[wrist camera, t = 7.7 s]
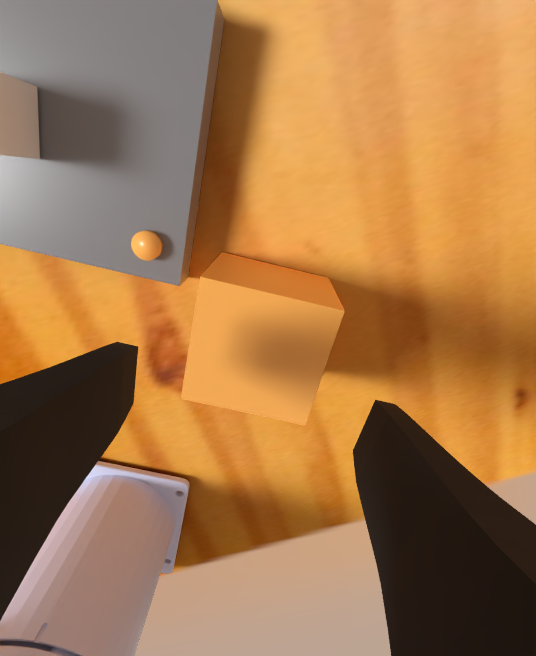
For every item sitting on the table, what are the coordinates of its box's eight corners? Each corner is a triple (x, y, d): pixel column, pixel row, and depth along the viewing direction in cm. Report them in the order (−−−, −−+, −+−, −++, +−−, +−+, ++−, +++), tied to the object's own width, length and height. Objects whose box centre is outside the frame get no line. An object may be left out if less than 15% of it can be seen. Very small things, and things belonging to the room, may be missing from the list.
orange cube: (299, 369, 18) (304, 425, 14) (205, 347, 18) (180, 398, 13) (328, 277, 16) (345, 310, 12) (222, 252, 16) (199, 276, 11)
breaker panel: (188, 277, 16) (176, 288, 14) (-65, 217, 16) (-109, 221, 14) (224, 20, 12) (214, -7, 11) (-112, -74, 12) (-181, -120, 10)
